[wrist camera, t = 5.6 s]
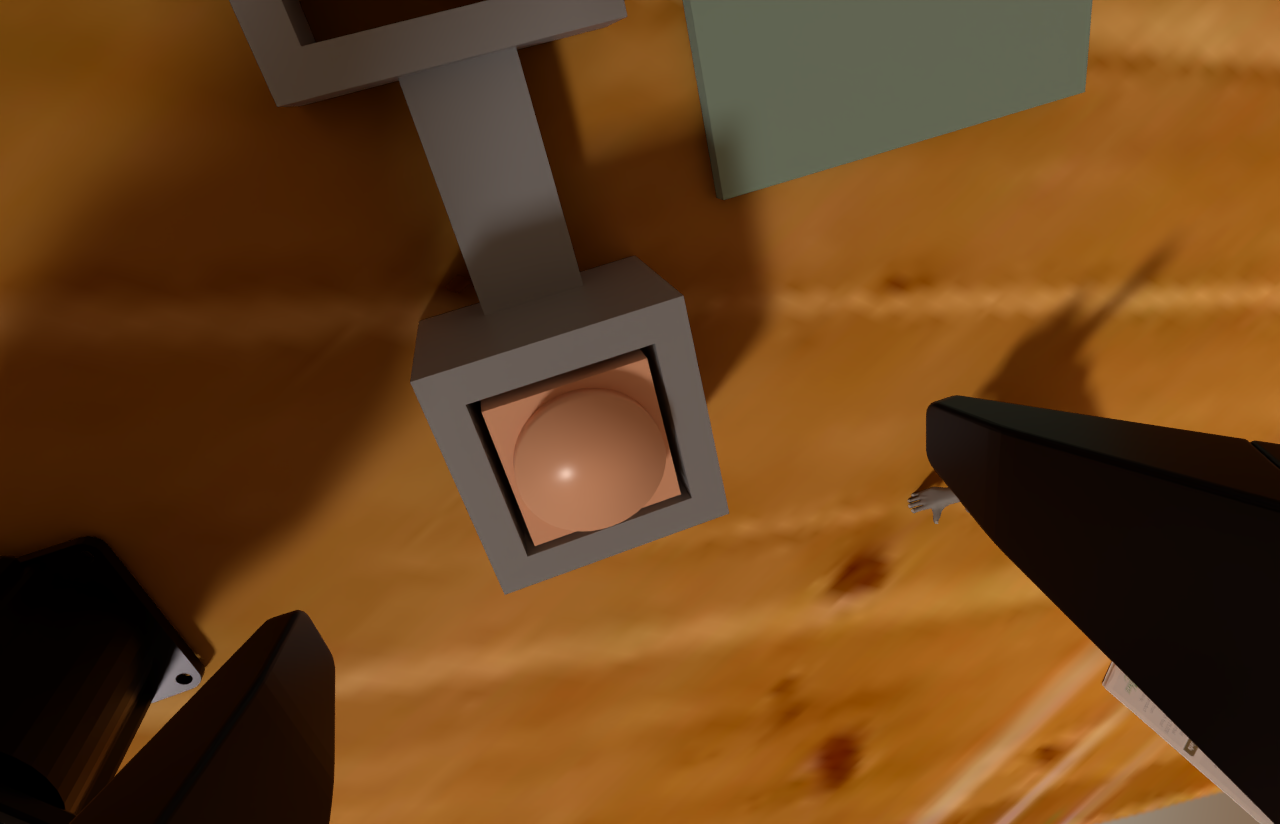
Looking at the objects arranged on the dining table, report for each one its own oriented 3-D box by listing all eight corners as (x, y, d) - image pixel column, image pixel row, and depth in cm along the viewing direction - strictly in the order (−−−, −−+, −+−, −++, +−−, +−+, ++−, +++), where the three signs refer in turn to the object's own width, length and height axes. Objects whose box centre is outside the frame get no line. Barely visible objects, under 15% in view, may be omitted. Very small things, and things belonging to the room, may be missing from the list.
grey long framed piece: (696, 432, 24) (750, 505, 20) (475, 509, 23) (481, 603, 19) (507, -413, 14) (533, -642, 10) (102, -344, 13) (-70, -566, 9)
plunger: (637, 421, 23) (687, 505, 19) (518, 461, 23) (537, 559, 18) (606, 305, 21) (653, 366, 16) (475, 347, 21) (482, 422, 16)
